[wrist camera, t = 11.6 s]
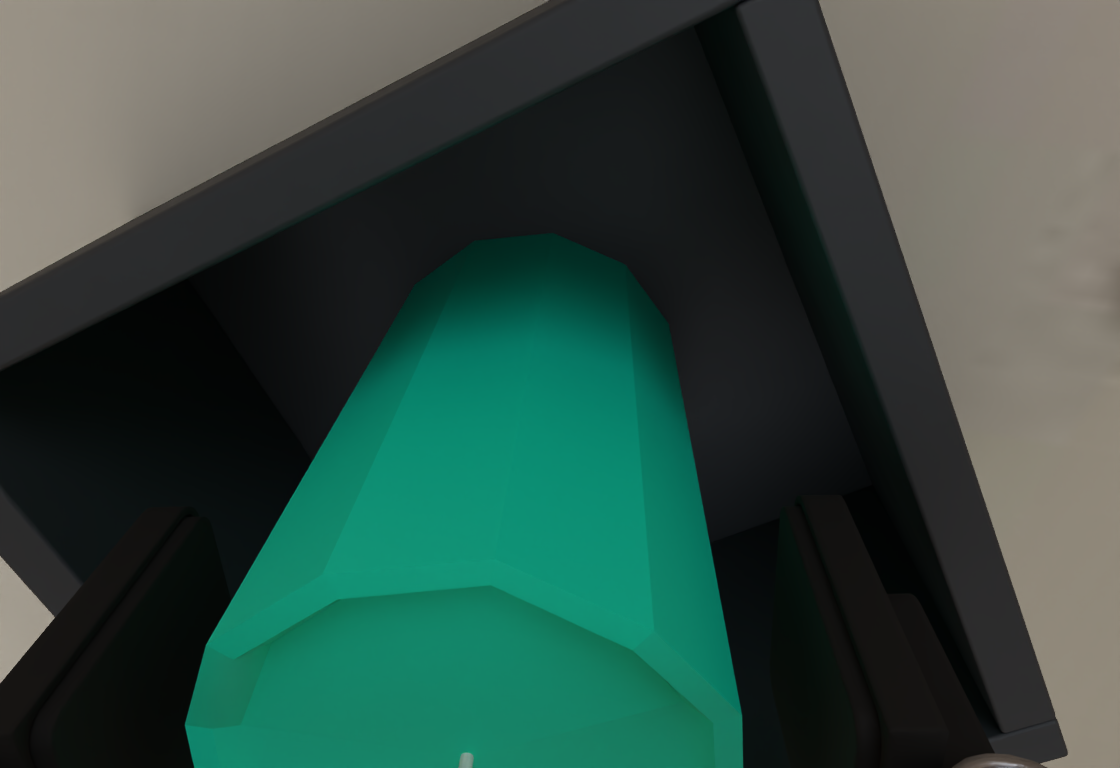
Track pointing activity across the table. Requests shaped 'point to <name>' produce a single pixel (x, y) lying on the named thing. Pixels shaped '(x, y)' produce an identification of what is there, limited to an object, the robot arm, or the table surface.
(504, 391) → the candle
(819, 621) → the robot arm
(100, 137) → the table surface
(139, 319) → the bin
